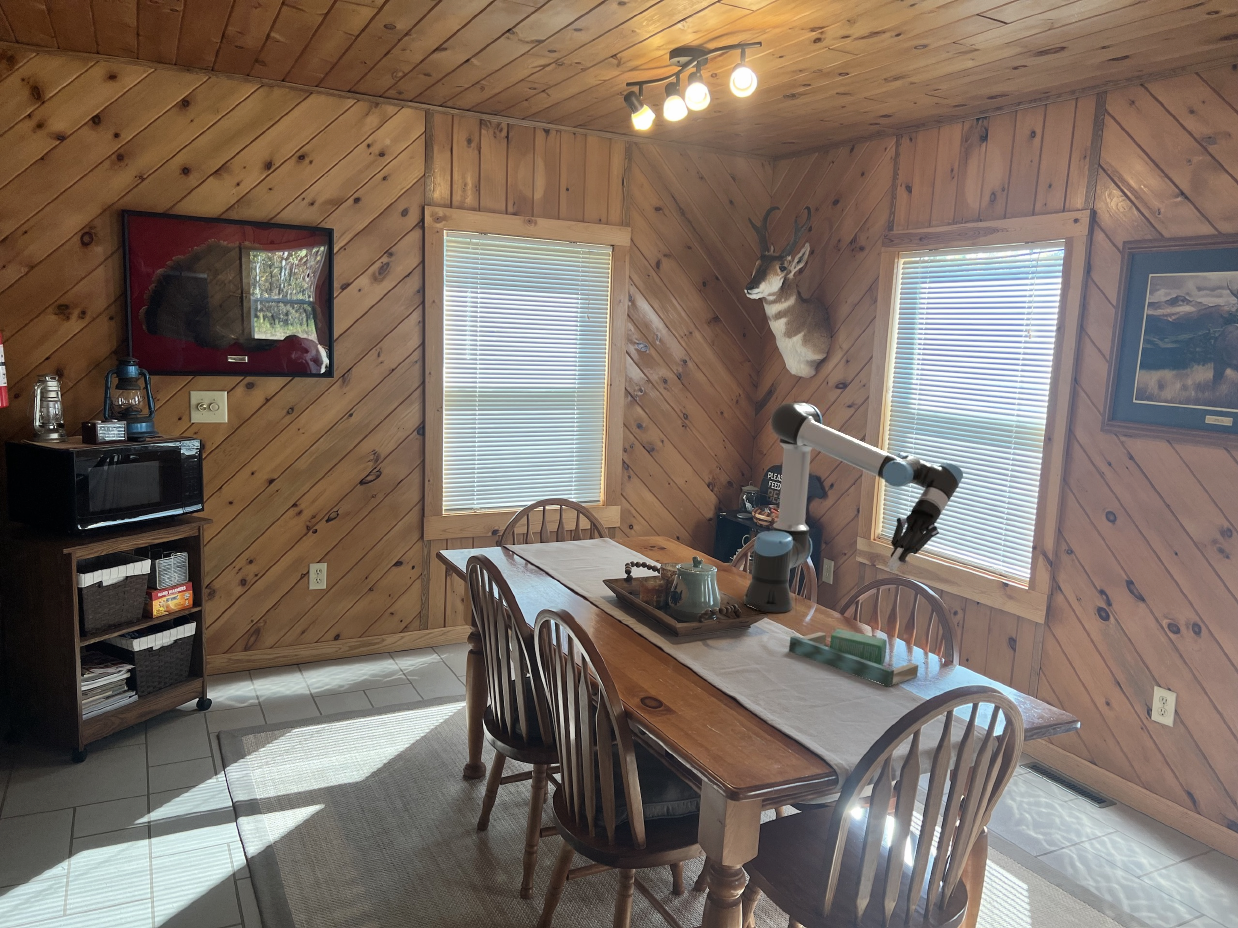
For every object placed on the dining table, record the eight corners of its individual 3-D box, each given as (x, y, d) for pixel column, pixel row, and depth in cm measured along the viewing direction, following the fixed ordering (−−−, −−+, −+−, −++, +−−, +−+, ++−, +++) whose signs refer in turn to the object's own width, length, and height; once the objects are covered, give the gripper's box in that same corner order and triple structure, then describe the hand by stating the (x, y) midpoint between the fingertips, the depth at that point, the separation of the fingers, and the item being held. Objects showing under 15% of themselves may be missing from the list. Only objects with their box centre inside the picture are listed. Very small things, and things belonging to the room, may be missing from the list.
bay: (788, 650, 237) (790, 636, 237) (819, 642, 247) (820, 628, 246) (888, 687, 215) (889, 671, 215) (917, 676, 225) (919, 661, 224)
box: (879, 673, 225) (882, 644, 225) (827, 661, 231) (830, 634, 231) (884, 665, 232) (887, 637, 231) (833, 654, 238) (836, 627, 237)
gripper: (953, 519, 254) (915, 582, 245) (912, 510, 264) (874, 570, 255) (946, 502, 250) (907, 565, 241) (905, 494, 260) (866, 554, 251)
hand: (890, 568), depth 248 cm, fingers closed
